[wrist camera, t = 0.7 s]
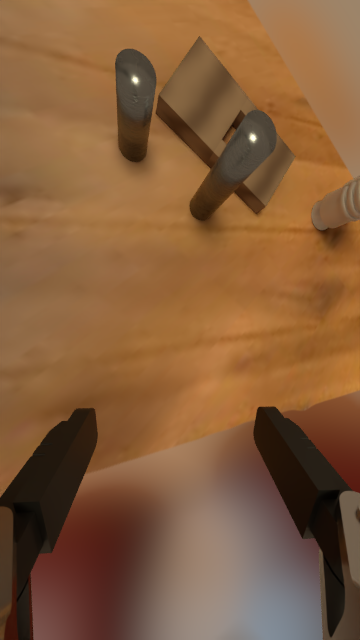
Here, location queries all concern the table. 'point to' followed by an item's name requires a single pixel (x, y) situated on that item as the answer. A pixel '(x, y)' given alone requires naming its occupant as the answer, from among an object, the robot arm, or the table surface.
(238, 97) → the hole plate
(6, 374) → the table surface
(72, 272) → the table surface
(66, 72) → the table surface
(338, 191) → the white ribbed cylinder
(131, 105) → the short pin
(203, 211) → the tall pin
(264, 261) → the table surface
